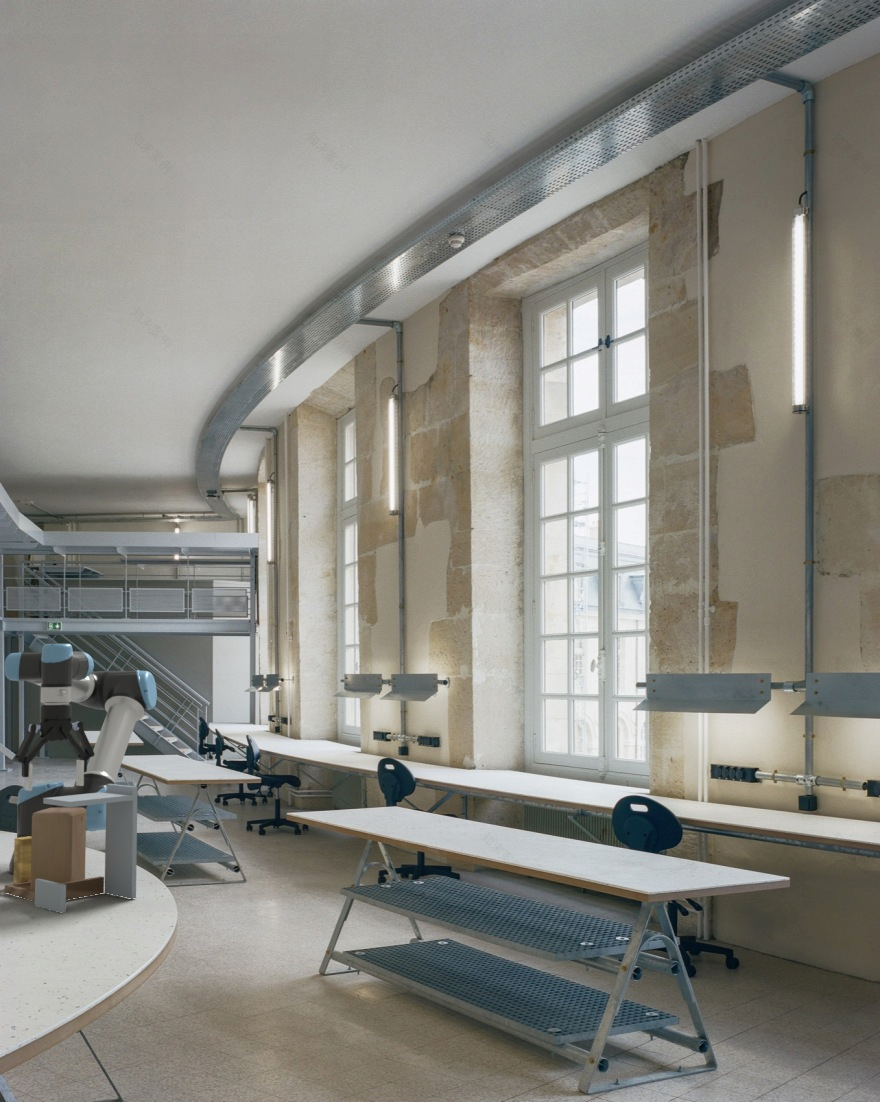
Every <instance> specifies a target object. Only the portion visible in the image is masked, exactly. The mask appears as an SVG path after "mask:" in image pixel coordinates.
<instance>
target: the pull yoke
mask: <svg viewBox="0 0 880 1102" xmlns="http://www.w3.org/2000/svg"><path fill="white" fill-rule="evenodd" d="M31 842H32V837H30V836H28V837H21V838H17V837H15V838H14V843H13V844H14V848H13V849H14V850H13V852H14V874H13V883H12V884H6V885H4V894H5V893H9V894H12V895H15V896H19V897H22V898H25V899H24V900H26V899H29V900H28V901H30V900H32V901H31V902H34V901H35V891H32V890H30V885H31ZM60 884H65V885H66V900H68V899H73V898H79V897H84V896H90V895H95V894H100V893H104V894H105V876H96V877H88V878H85V879H82V880H76V881H70V882H64V883H60ZM22 898H21V899H22Z"/></svg>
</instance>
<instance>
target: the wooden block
mask: <svg viewBox="0 0 880 1102" xmlns="http://www.w3.org/2000/svg"><path fill="white" fill-rule="evenodd" d="M86 838H87V831H86V809H85V808H82V807H71V808H48V809H44V810H41V811H37V812H35V813H33V815H32V842H31V885H30V890H32V891H35V879H44V880H48V881H52V882H56V883H64V882H70V881H76V880H82V879H86V850H87V849H86V845H87V844H86V843H87V842H86V841H87V839H86Z"/></svg>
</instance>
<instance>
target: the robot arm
mask: <svg viewBox="0 0 880 1102" xmlns="http://www.w3.org/2000/svg"><path fill="white" fill-rule="evenodd" d="M41 649H42V651H41V652H35V651H34V652H23V651H20V652H12V653H9V654H8V655H7V656H6V657H5V660H4V666H3V670H4V675H5V677H6V678H7V679H8V680H9V681H12V682H13V681H15V682H21V681H22V682H23V681H24V682H25V681H26V682H27V683H32V684H34V685H37V686H40V703H42V705H41V706H40V713H39V715H40V718H39V719H40V723H39V724H35V723H29V724H27V730H26V733H25V735H24V738H23V740H22V742H21V744H20V746H19V748H18V750H17V752H16V754H15V756H14V759H13V761H14V762H17V763H19V764H21V776H22V778H24V787H22V788H20V790H19V791H18V795H17V803H16V806H17V811H16V813H17V814H16V815H17V816H16V817H17V819H16V821H17V822H16V830H17V831H16V838H21V837H28V836H30V837H32V815H33V813H35V812H37V811H41V810H44V809H48V808H71V807H64V806H58V805H51V804H44V803H43V798H50V797H60V796H69V795H79V794H89V793H98V792H106V784H117V783H116V780H117V778H118V775H119V772H120V768H121V766H122V763H123V760H124V757H125V754H126V751H127V748H128V746H129V743H130V740H131V737H132V734H133V731H134V729H135V726H136V723H137V722H138V721H141V719H143V718H144V716H145V712H146V710H148V711H150V710H153V709H155V707H156V704H157V699H158V697H157V696H158V694H157V693H158V691H157V684H156V680H155V677H154V675H153V674H152V673H151V672H150V671H149V670H139V669H137V670H110V671H109V670H102V671H101V670H100V671H94V668H95V664H94V663H95V662H94V660H93V657H92V656H91V655H90V654H89V653H87V652H84V651H80V650H79V651H76V650H75V651H74V650H73V646H72V645H71V643H45V644H44V645H43V646H42V648H41ZM71 702H72V703H74V704H75V703H76V704H78V705H81V706H84V707H87V708H91V709H95V710H101V711H102V710H103V711H104V710H105V711H106V716H105V718H104V721H103V724H102V726H101V729H100V731H99V734H98V737H97V738H96V739H97V740H96V741H95V745H94V747H93V748H92V745H91V743H90V741H89V739H88V736H87V735H86V733H85V730H84V722H83V721H75V722H72V705H71V704H70V703H71ZM72 729H73V731H75V735H76V736H77V738H78V741H79V742H80V745H81V746H80V745H79V743H78V742H77V741H76V740H75V738H74V737H73V735H72V734H71V733H70V732H71V730H72ZM38 731H39V732H40V733H41V734H40V735H39V737H37V740H36V741H35V742H34V744H33V745H32V746H31V744H32V743H33V740H34V738H35V736H36V734H37V733H38ZM49 741H50V742H55V741H64V742H66V744H67V745H68V746H69V748H71V749H72V751H73V752H74V753H75V754H76V755H77V757H78V758H79V759H76V765H75V766H76V771H75V772H76V774H75V776H76V778H75V782H74V784H73V786H65V784H64V782H63V781H61V780H60V781H50V782H44V783H38V784H33V771H34V770H33V769H34V768H33V767H34V764H33V763H31V762H32V761H33V759H34V758H35V757H36V755H37V754H38V753H39V751H41V749H42V748H43V746H45V744H47V743H48V742H49ZM30 746H31V748H30ZM76 807H82V808H85V809H86V832H87V831H89V832H97V831H106V803H103V804H94V805H85V806H76ZM8 872H9V873H10V874H12V873H13V875H14V851H13V853H12V855H11V858H10V861H9V865H8Z"/></svg>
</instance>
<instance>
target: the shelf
mask: <svg viewBox="0 0 880 1102" xmlns="http://www.w3.org/2000/svg"><path fill="white" fill-rule="evenodd" d="M43 803H44V804H51V805H58V806H64V807H76V806H85V805H94V804H103V803H106V830H105V846H104V847H105V848H104V849H105V850H104V851H105V853H104V857H105V858H104V894H105V893H109V894H113V895H118V896H123V897H127V898H131V899H133V898H136V899H137V859H138V857H137V856H138V854H137V853H138V852H137V851H138V850H137V848H138V847H137V846H138V845H137V843H138V786H133V785H124V784H118V783H116V784H106V792H98V793H89V794H79V795H69V796H60V797H50V798H43ZM109 894H108V895H109ZM113 895H112V896H113ZM66 905H67V901H66V885H65V884H60V883H56V882H52V881H48V880H44V879H35V902H34V907H36V906H38V907H37V908H40V907H42V908H41V909H44V908H46V909H45V910H47V909H50V910H49V911H51V910H53V911H52V912H54V911H58V912H65V911H66V909H67V908H66V907H67V906H66ZM58 912H57V913H58ZM66 912H67V911H66ZM66 912H65V913H66Z"/></svg>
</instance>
